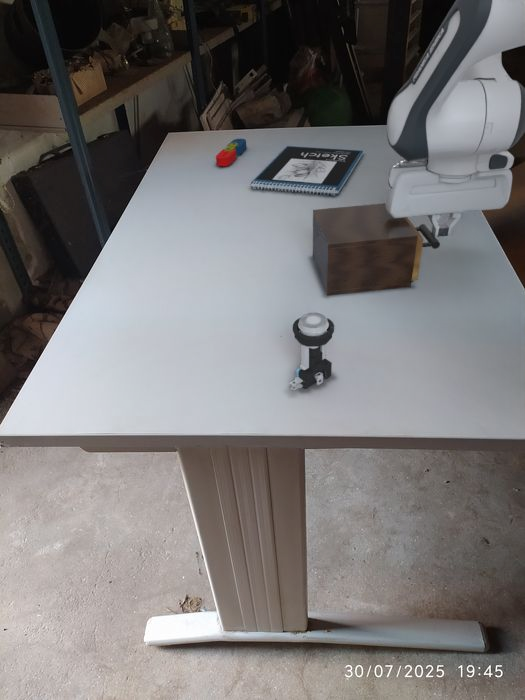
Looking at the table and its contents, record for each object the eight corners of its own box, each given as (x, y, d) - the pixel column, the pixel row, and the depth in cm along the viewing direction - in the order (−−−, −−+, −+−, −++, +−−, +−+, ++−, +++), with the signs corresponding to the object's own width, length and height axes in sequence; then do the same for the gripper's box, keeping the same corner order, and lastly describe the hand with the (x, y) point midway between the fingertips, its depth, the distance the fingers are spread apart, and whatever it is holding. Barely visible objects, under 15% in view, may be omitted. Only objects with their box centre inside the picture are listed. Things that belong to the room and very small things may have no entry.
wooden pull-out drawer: (417, 244, 102) (423, 205, 97) (441, 277, 92) (448, 236, 88) (325, 253, 101) (326, 214, 96) (339, 287, 92) (341, 246, 87)
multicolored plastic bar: (228, 168, 143) (227, 156, 141) (214, 167, 144) (213, 156, 142) (248, 148, 155) (247, 137, 154) (235, 147, 156) (234, 136, 155)
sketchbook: (362, 155, 146) (363, 147, 145) (337, 198, 124) (337, 189, 123) (286, 150, 152) (286, 142, 151) (249, 190, 130) (249, 181, 129)
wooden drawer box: (388, 250, 103) (393, 202, 97) (410, 287, 92) (418, 235, 86) (312, 257, 102) (312, 209, 96) (326, 295, 91) (328, 244, 86)
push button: (304, 402, 71) (303, 342, 65) (278, 382, 75) (275, 323, 68) (340, 380, 74) (343, 320, 68) (314, 362, 78) (314, 303, 72)
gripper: (395, 167, 83) (387, 248, 92) (524, 156, 84) (504, 237, 93) (384, 154, 88) (377, 232, 97) (506, 144, 89) (488, 222, 97)
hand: (440, 235), depth 95 cm, fingers closed
